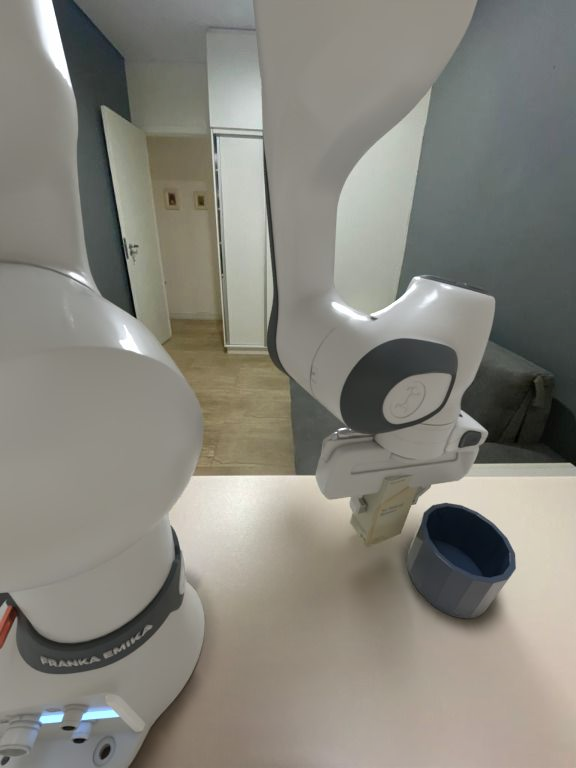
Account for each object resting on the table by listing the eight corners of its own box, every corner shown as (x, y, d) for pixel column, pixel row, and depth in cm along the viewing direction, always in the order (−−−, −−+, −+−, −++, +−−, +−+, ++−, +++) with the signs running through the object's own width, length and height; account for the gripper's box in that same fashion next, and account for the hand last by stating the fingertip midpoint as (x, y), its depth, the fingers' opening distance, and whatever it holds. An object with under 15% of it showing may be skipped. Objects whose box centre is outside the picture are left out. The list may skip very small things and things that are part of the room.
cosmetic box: (366, 548, 42) (387, 483, 36) (348, 521, 45) (364, 458, 39) (402, 533, 44) (427, 470, 38) (382, 509, 48) (402, 448, 42)
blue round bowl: (438, 628, 36) (461, 591, 32) (392, 546, 45) (405, 509, 41) (509, 607, 39) (538, 571, 35) (452, 533, 47) (470, 497, 44)
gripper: (335, 450, 30) (318, 539, 37) (501, 432, 35) (460, 513, 42) (315, 414, 36) (303, 497, 42) (461, 403, 41) (431, 479, 47)
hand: (382, 505), depth 42 cm, fingers closed on cosmetic box, 6 cm apart
